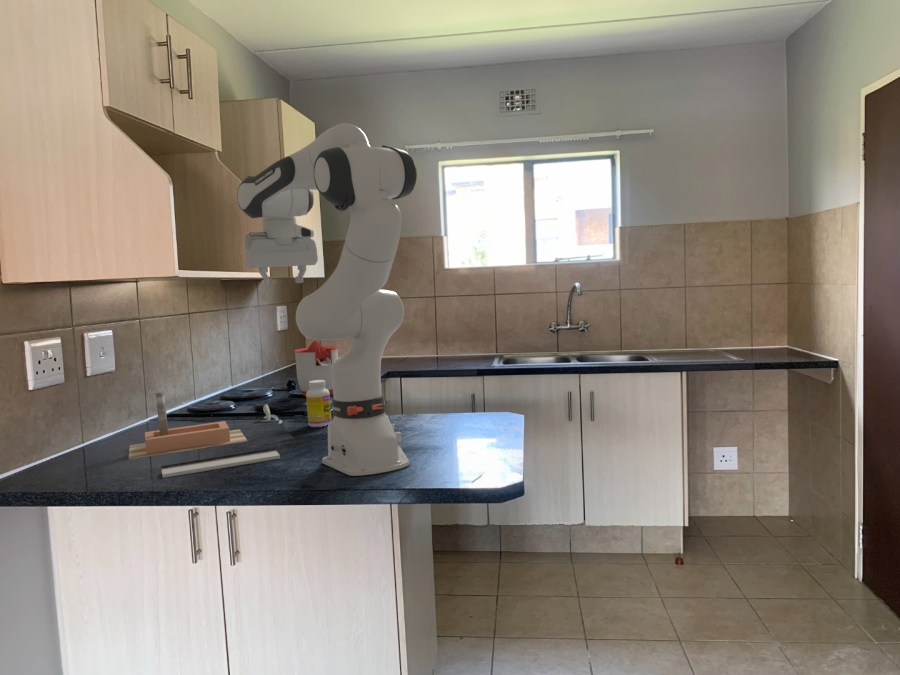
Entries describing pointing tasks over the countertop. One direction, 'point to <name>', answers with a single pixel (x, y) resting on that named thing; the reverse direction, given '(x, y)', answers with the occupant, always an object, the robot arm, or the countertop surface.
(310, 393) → the supplement bottle
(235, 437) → the stand
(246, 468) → the countertop surface
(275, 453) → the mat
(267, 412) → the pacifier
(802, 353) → the countertop surface
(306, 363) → the citrus juicer
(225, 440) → the link
